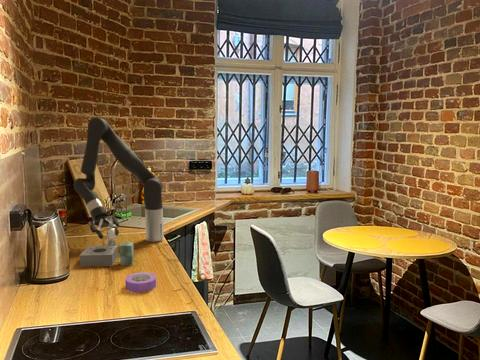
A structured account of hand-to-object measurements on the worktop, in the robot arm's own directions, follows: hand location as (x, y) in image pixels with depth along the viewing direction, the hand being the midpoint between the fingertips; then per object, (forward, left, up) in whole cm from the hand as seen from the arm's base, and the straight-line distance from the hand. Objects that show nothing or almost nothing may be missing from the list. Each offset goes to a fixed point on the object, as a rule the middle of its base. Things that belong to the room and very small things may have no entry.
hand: (110, 236), depth 215 cm
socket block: (+1, +17, -7) cm, 18 cm away
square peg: (-12, +21, -7) cm, 25 cm away
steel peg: (-1, +1, -7) cm, 7 cm away
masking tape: (-22, +49, -7) cm, 54 cm away
